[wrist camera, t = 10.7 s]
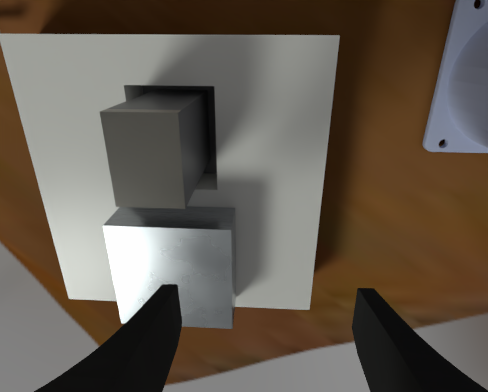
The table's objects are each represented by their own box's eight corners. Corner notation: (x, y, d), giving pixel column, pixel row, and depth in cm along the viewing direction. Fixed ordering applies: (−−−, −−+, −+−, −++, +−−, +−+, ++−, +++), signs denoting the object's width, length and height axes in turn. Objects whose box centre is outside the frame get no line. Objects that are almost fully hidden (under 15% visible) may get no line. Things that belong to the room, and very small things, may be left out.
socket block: (328, 36, 18) (339, 35, 15) (304, 280, 24) (309, 309, 22) (37, 35, 19) (-2, 33, 16) (90, 271, 25) (68, 298, 22)
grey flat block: (235, 207, 19) (231, 230, 16) (235, 298, 21) (232, 328, 19) (122, 204, 19) (102, 225, 17) (136, 294, 22) (121, 323, 19)
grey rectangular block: (207, 90, 19) (177, 112, 12) (210, 158, 20) (185, 209, 14) (155, 89, 19) (99, 111, 13) (162, 157, 21) (115, 206, 14)
